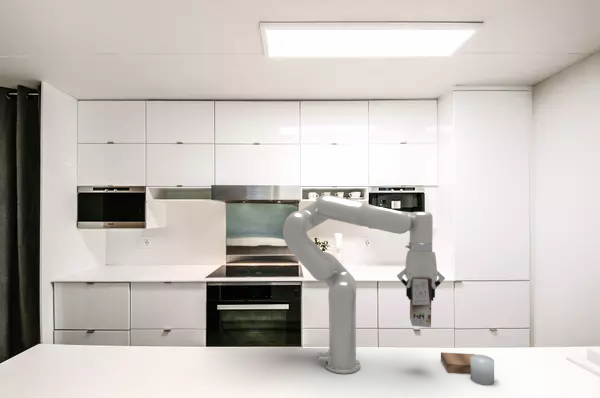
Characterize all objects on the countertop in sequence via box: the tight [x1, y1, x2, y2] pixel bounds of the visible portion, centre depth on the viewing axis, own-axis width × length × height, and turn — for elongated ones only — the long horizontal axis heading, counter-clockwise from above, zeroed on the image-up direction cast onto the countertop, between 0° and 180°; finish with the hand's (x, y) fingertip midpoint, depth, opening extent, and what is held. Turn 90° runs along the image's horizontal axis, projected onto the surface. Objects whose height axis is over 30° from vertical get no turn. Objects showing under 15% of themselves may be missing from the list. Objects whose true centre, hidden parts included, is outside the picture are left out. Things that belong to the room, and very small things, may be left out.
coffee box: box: [409, 278, 432, 328], centre depth 131 cm, size 9×6×16 cm
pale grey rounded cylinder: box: [470, 354, 495, 386], centre depth 125 cm, size 7×7×7 cm
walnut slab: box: [440, 351, 476, 375], centre depth 134 cm, size 12×10×3 cm
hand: (420, 298), depth 131 cm, fingers closed on coffee box, 6 cm apart
